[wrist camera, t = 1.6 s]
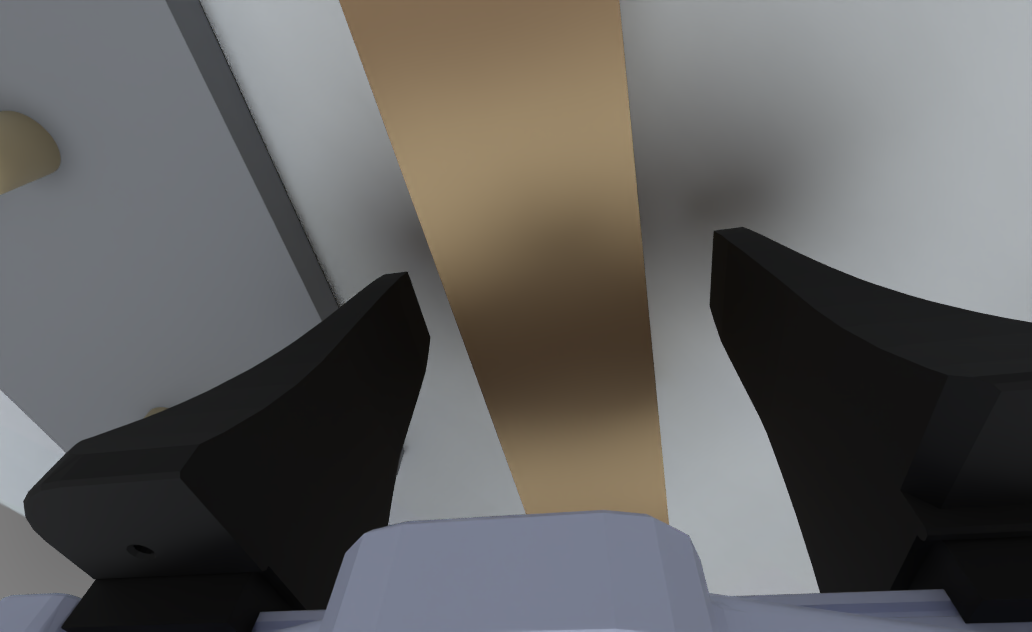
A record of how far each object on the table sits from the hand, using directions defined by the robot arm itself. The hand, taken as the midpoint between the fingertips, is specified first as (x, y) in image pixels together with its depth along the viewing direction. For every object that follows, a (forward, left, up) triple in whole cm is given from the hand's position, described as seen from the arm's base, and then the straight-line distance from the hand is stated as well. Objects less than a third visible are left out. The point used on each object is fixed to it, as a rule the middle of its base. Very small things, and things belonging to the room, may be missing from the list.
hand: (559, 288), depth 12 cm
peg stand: (0, +14, -3) cm, 14 cm away
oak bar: (0, 0, -4) cm, 4 cm away
